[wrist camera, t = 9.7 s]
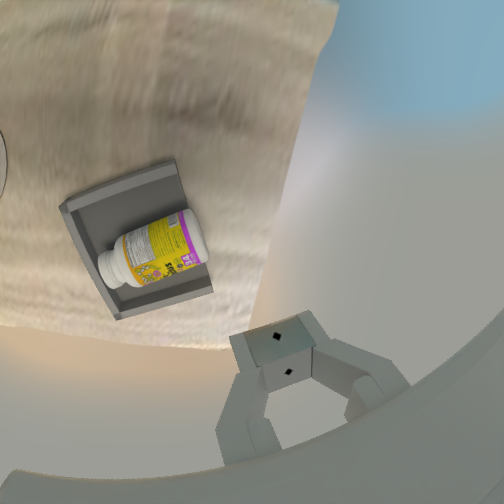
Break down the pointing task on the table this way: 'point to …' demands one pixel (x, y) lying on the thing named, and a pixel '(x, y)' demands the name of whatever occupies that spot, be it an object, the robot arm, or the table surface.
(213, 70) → the table surface
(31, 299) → the table surface
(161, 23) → the table surface
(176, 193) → the tray
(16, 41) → the table surface
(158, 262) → the supplement bottle
